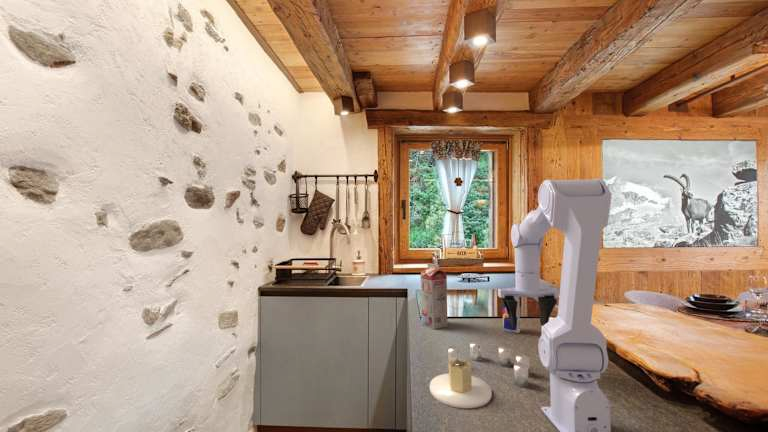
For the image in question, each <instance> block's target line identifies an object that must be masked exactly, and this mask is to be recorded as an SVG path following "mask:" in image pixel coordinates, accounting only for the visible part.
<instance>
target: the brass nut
mask: <svg viewBox="0 0 768 432" xmlns="http://www.w3.org/2000/svg"><path fill="white" fill-rule="evenodd" d="M447 361H448V360H447ZM447 366H448V373H449V386H450V389H451V390H452V391H456V392H459V393H465V392H468V391H471V390H472V378H471V376H472V366H471V364H470V362H469V361H468V360H464V359H461V358H460V359H455V360H451V361H448V365H447Z"/></svg>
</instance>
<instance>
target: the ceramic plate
mask: <svg viewBox="0 0 768 432" xmlns="http://www.w3.org/2000/svg"><path fill="white" fill-rule="evenodd" d="M471 378H472V390H471V391H468V392H465V393H459V392H456V391H452V390H451V389H450V386H449V372H448V373H442V374H440V375H437V376H434V377H433V378H432V379H431V380H430V382H429V391H430V394H431V395H432V397H433V398H434V399H435V400H437V401H438V402H439V403H442V404H444V405H446V406H449V407H454V408H457V409H476V408H477V409H478V408H481V407H483V406H486V405H487V404H489V402H490V401H492V395H493V394H492V388H491V386H490V385H489V384H488V383H487V382H486V381H485V380H482V379H481V378H479V377H477V376H474V375H471Z"/></svg>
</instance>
